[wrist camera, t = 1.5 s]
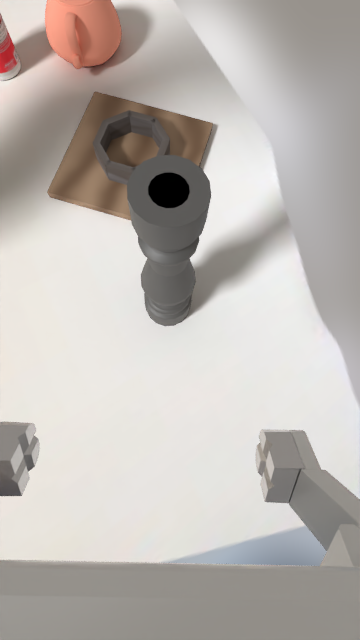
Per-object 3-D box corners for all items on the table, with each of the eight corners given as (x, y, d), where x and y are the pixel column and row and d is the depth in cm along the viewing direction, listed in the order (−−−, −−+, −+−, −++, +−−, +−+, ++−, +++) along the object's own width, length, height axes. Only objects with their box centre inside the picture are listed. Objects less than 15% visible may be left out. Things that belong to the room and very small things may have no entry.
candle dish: (49, 197, 50) (39, 178, 46) (96, 98, 55) (90, 73, 51) (176, 233, 49) (177, 217, 45) (211, 129, 54) (215, 106, 50)
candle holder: (183, 279, 47) (200, 143, 23) (195, 319, 46) (226, 219, 22) (141, 289, 47) (113, 161, 23) (151, 331, 45) (134, 240, 21)
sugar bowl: (127, 27, 60) (119, -49, 50) (117, 87, 56) (106, 18, 46) (59, 20, 60) (38, -58, 50) (44, 79, 56) (18, 9, 46)
